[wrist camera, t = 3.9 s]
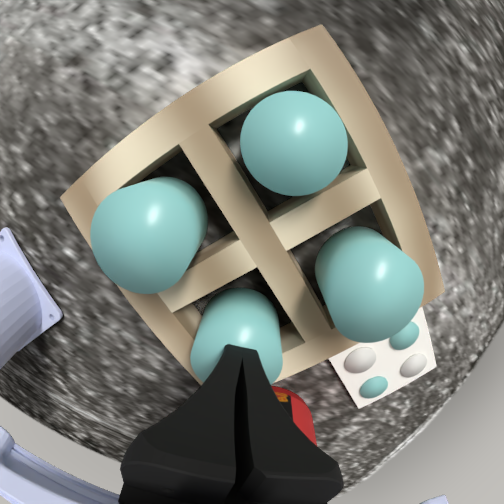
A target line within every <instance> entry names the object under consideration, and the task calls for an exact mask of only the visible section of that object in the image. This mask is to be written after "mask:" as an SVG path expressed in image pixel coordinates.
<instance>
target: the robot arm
mask: <svg viewBox="0 0 504 504" xmlns="http://www.w3.org/2000/svg"><path fill="white" fill-rule="evenodd" d="M62 316H63V314H62V311H61V310H60V308H59V307H58V306H57V304H56V303H55V301H54V300H53V299H52V297H51V296H50V294H49V293H48V291H47V290H46V289H45V287H44V286H43V284H42V283H41V281H40V280H39V278H38V276H37V275H36V273H35V272H34V270H33V269H32V267H31V265H30V264H29V262H28V260H27V259H26V257H25V255H24V254H23V252H22V250H21V249H20V247H19V245H18V243H17V242H16V240H15V238H14V236H13V234H12V232H11V230H10V229H9V228H8V227H5V228H3V229H2V230H1V232H0V369H1V368H2V367H3V366H4V365H5V364H6V363H7V361H8V360H9V359H10V358H11V357H12V356H13V355H14V354H15V353H16V352H17V351H20V350H21V349H22V348H23V347H25V346H26V345H27V344H28V343H30V342H31V341H32V340H34V339H35V338H36V337H38V336H39V335H40V334H42V333H43V332H44V331H46V330H47V329H48V328H50V327H51V326H52V325H54V324H55V323H56V322H58V321H59V320H60V319H61V318H62ZM120 470H121V474H122V478H123V482H124V484H123V487H122V490H121V494H120V495H118V494H115V493H112V492H110V491H108V490H105V489H102V488H100V487H97V486H95V485H93V484H90V483H88V482H86V481H84V480H81V479H79V478H77V477H75V476H73V475H71V474H69V473H66V472H64V471H63V470H61V469H59V468H57V467H55V466H53V465H51V464H49V463H47V462H46V461H44V460H42V459H40V458H38V457H37V456H35V455H33V454H32V453H30V452H28V451H27V450H25V449H24V448H22V447H21V446H19V445H17V444H16V443H15V442H14V439H13V438H12V436H11V435H10V434H9V433H8V432H7V431H6V430H5V429H4V428H3V427H1V426H0V495H1V496H2V497H3V498H5V499H6V500H7V501H9V502H10V503H12V504H327V502H328V501H330V500H331V499H332V498H333V497H335V496H336V495H337V494H338V493H339V492H340V491H341V490H342V489H343V486H344V484H343V478H342V474H341V471H340V468H339V465H338V462H336V461H335V460H334V459H332V458H331V457H330V456H328V455H327V454H326V453H325V452H323V451H322V450H321V449H320V448H318V447H317V446H316V445H315V444H314V443H313V442H312V441H311V440H310V439H309V438H308V437H307V436H306V435H305V434H304V433H303V432H302V431H301V430H300V429H299V427H298V426H297V425H296V424H295V423H294V421H293V420H292V419H291V418H290V416H289V415H288V413H287V412H286V411H285V409H284V408H283V406H282V404H281V403H280V401H279V399H278V398H277V396H276V394H275V392H274V390H273V388H272V386H271V384H270V382H269V380H268V378H267V376H266V373H265V371H264V368H263V366H262V363H261V360H260V357H259V354H258V352H257V350H254V349H250V348H245V347H240V346H235V345H231V344H227V345H225V347H224V351H223V354H222V356H221V358H220V360H219V361H218V363H217V365H216V366H215V368H214V369H213V371H212V372H211V374H210V375H209V376H208V378H207V379H206V380H205V381H204V383H203V384H202V385H201V386H200V388H199V389H198V390H197V391H196V392H195V393H194V394H193V395H192V396H191V397H190V398H189V399H188V400H187V401H186V402H185V403H183V404H182V405H181V406H180V407H179V408H178V409H176V410H175V411H174V412H172V413H171V414H170V415H168V416H167V417H165V418H164V419H163V420H161V421H160V422H158V423H156V424H155V425H153V426H151V427H149V428H147V429H146V430H144V431H142V432H141V433H140V434H139V435H138V436H137V437H136V438H135V440H134V441H133V442H132V443H131V445H130V446H129V448H128V449H127V451H126V453H125V455H124V458H123V460H122V463H121V468H120ZM420 504H449V503H448V500H447V498H446V495H441V496H438V497H435V498H432V499H428V500H426V501H424V502H422V503H420Z"/></svg>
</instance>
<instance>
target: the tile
mask: <svg viewBox="0 0 504 504" xmlns="http://www.w3.org/2000/svg"><path fill="white" fill-rule="evenodd" d="M329 360H330V362H331V363H332V365H333V367H334V368H335V370H336V372H337V373H338V375H339V377H340V378H341V380H342V382H343V383H344V385H345V387H346V388H347V390H348V392H349V393H350V395H351V397H352V398H353V400H354V402H355V403H356V405H357V407H358V408H362V407H364V406H366V405H368V404H370V403H372V402H374V401H376V400H378V399H380V398H382V397H384V396H386V395H388V394H390V393H392V392H394V391H395V390H397V389H399V388H401V387H403V386H405V385H406V384H408V383H410V382H412V381H413V380H415V379H417V378H419V377H420V376H422V375H424V374H425V373H427V372H428V371H430V370H432V369H433V368H435V367H436V362H435V357H434V352H433V348H432V343H431V339H430V335H429V331H428V327H427V323H426V319H425V315H424V312H423V308H422V307H421V308H419V309H418V311H417V313H416V315H415V316H414V317H413V319H412V320H411V321H410V322H409V324H408V325H407V326H406V327H405V328H403V329H402V330H401V331H400V332H398V333H397V334H395V335H394V336H392V337H390V338H388V339H385V340H382V341H379V342H373V343H358V344H356V345H355V346H353V347H351V348H349V349H347V350H345V351H343V352H341V353H339V354H337V355H335V356H333V357H331V358H329Z"/></svg>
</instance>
